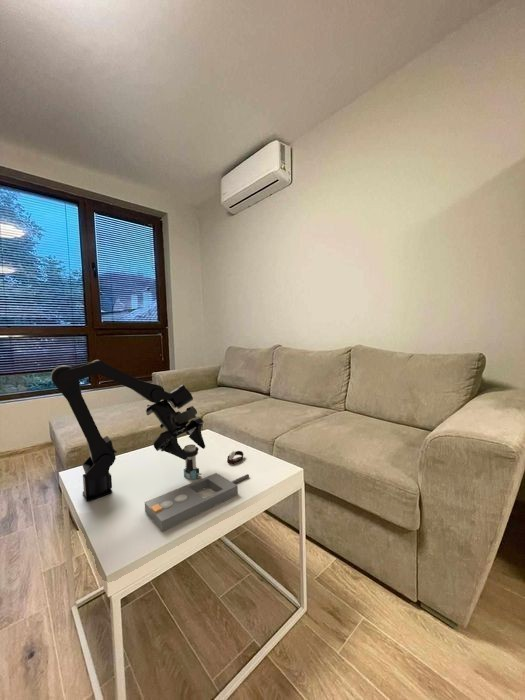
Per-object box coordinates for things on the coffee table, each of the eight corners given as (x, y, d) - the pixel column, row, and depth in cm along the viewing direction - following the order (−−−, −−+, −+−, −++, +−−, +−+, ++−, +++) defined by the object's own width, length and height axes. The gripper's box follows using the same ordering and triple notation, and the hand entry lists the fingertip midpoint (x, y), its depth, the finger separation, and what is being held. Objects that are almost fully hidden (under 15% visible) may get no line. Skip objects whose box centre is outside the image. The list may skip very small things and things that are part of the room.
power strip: (162, 531, 66) (161, 519, 65) (145, 511, 74) (144, 500, 74) (260, 483, 86) (259, 473, 86) (238, 471, 94) (238, 462, 94)
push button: (206, 475, 92) (205, 445, 92) (196, 483, 87) (194, 451, 87) (190, 471, 95) (188, 442, 95) (179, 479, 90) (177, 448, 90)
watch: (236, 456, 107) (236, 446, 107) (247, 458, 105) (246, 448, 105) (223, 464, 101) (223, 454, 100) (234, 466, 98) (234, 456, 98)
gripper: (158, 407, 83) (190, 448, 79) (198, 394, 100) (225, 428, 96) (140, 430, 87) (169, 471, 83) (181, 414, 104) (207, 448, 100)
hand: (195, 453), depth 90 cm, fingers open, 9 cm apart
